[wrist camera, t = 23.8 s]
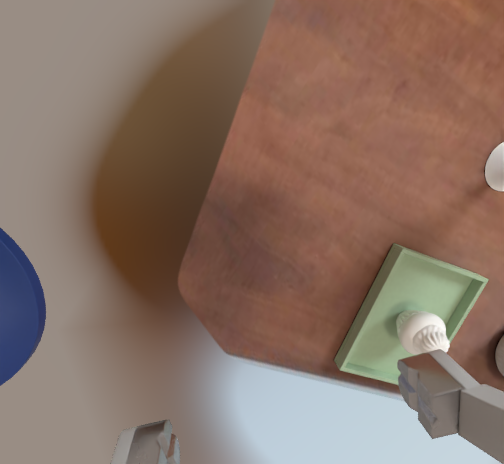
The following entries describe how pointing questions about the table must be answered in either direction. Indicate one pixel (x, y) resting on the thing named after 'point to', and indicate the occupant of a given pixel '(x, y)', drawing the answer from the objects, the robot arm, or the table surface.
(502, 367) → the ramekin
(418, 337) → the muffin
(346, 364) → the tray
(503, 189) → the champagne flute
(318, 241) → the table surface
